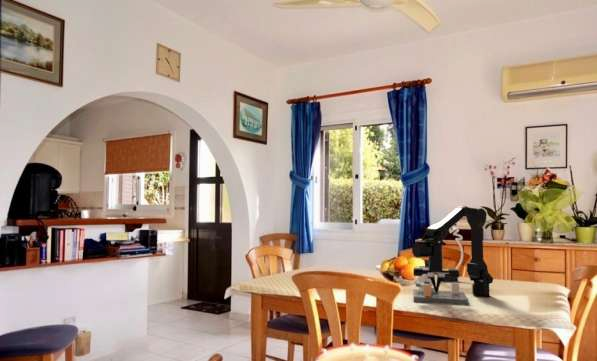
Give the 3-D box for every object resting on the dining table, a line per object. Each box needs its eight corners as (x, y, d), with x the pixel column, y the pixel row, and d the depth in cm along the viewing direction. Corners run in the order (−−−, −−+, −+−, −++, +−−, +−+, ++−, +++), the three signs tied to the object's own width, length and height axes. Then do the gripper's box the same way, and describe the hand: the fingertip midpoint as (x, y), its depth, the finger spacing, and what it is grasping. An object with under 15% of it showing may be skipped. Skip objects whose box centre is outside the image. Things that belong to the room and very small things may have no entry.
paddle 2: (458, 292, 193) (458, 281, 194) (459, 294, 191) (459, 282, 191) (451, 292, 194) (451, 281, 194) (451, 293, 191) (451, 282, 192)
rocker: (437, 290, 196) (438, 287, 196) (438, 292, 192) (439, 289, 192) (415, 284, 199) (416, 281, 199) (415, 286, 195) (416, 283, 195)
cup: (436, 292, 205) (436, 266, 205) (417, 291, 206) (416, 265, 207) (434, 288, 213) (434, 263, 214) (415, 287, 215) (415, 263, 216)
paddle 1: (431, 295, 189) (431, 283, 189) (431, 296, 186) (431, 285, 186) (423, 294, 190) (423, 283, 190) (423, 296, 187) (423, 284, 187)
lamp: (460, 278, 239) (459, 221, 240) (465, 281, 230) (464, 222, 231) (429, 278, 240) (429, 221, 241) (433, 281, 231) (432, 221, 233)
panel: (463, 296, 195) (463, 282, 195) (468, 304, 180) (468, 289, 180) (413, 293, 201) (413, 280, 201) (413, 301, 185) (413, 287, 186)
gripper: (456, 254, 193) (457, 289, 192) (413, 253, 198) (413, 287, 197) (459, 257, 182) (460, 295, 182) (413, 256, 187) (414, 293, 186)
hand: (436, 292), depth 187 cm, fingers closed
